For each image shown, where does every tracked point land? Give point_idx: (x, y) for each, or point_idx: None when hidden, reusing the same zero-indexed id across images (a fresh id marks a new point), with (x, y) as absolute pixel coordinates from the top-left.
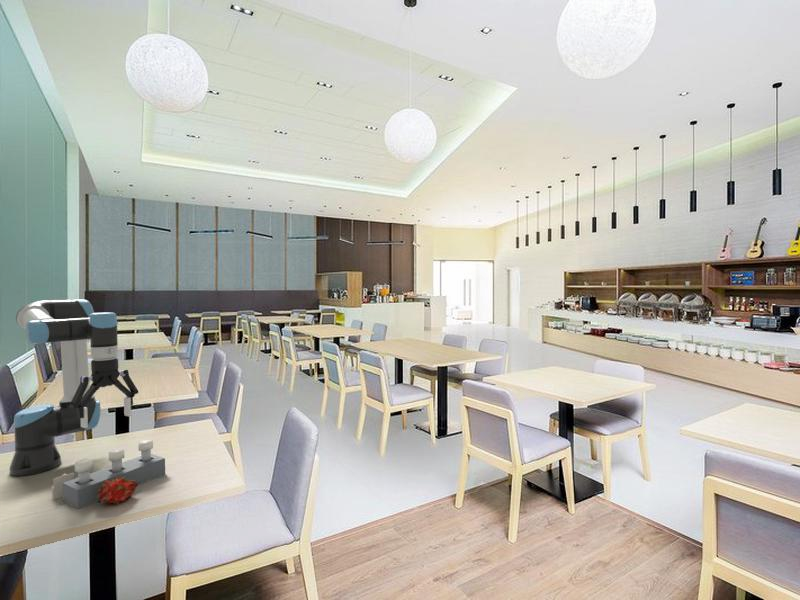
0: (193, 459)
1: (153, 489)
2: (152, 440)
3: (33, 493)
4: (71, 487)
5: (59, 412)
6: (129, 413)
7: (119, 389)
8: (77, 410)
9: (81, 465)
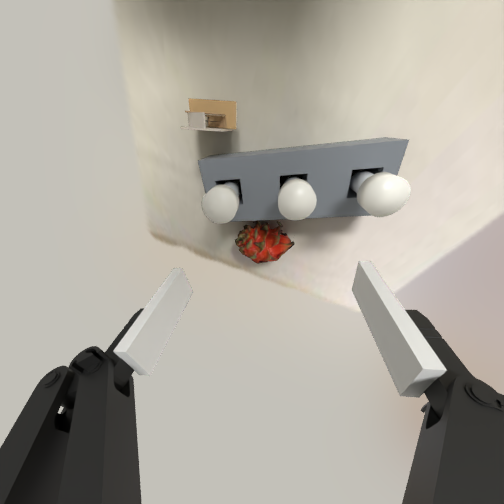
0: (463, 177)
1: (312, 240)
2: (404, 203)
3: (165, 27)
4: None
5: None
6: (359, 300)
7: (430, 502)
8: (113, 345)
9: (212, 220)
